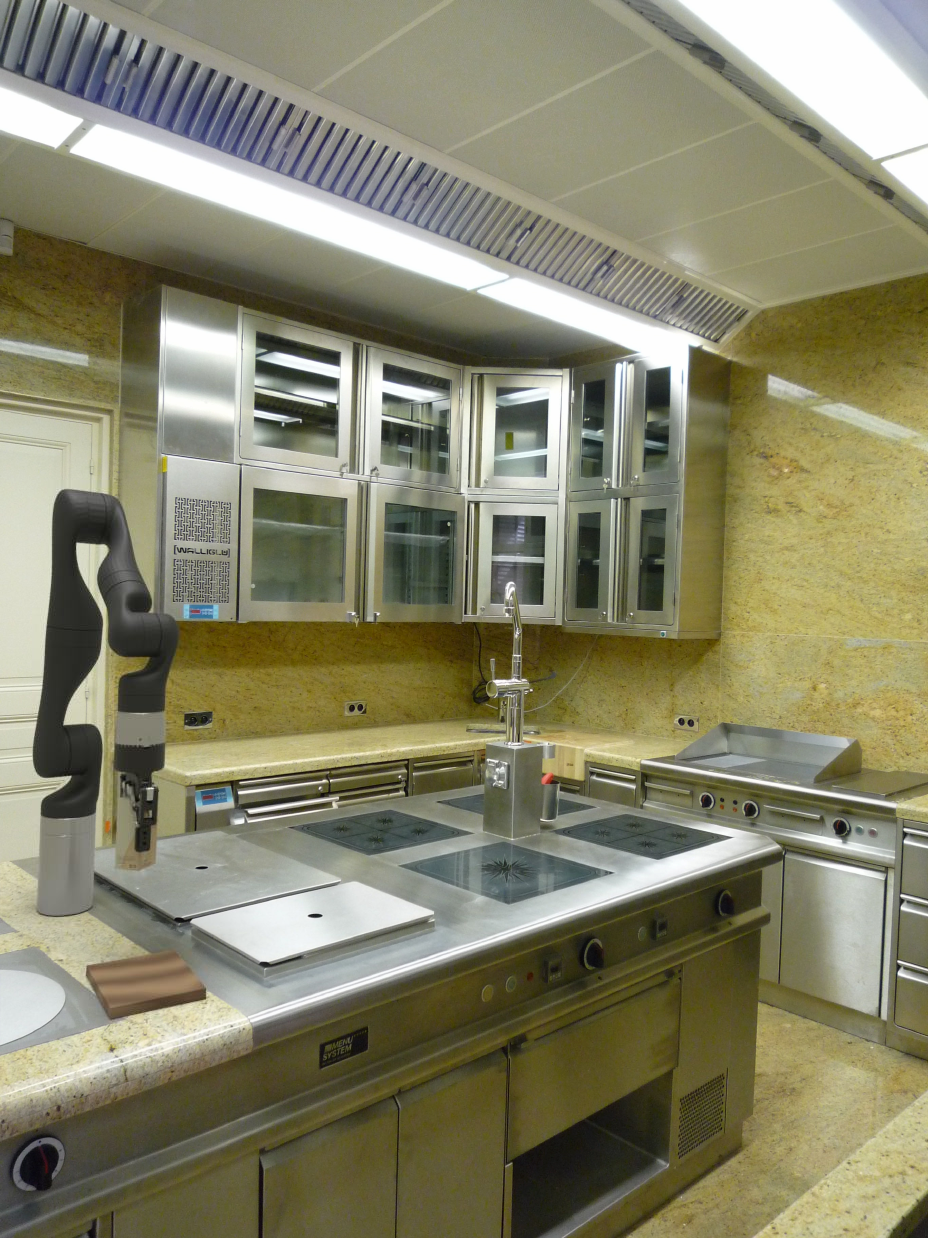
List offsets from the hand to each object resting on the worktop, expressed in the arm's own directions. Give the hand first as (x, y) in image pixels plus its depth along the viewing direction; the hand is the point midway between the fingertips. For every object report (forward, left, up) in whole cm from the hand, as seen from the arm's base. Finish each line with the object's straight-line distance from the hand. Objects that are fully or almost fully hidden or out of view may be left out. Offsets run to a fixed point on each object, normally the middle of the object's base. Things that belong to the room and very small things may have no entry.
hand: (136, 845), depth 138 cm
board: (+11, -1, -18) cm, 21 cm away
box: (0, 0, -3) cm, 3 cm away
